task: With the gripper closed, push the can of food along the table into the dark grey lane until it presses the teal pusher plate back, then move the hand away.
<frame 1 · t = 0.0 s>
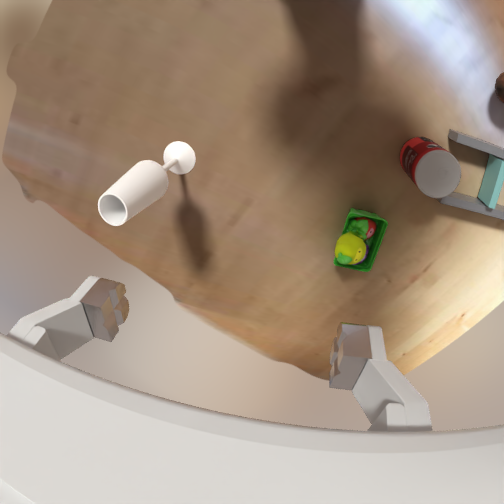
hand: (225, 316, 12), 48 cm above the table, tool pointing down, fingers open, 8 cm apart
pusher: (492, 180, 46), point 3 cm above the table, slide at 0.0 cm
fruit basket: (354, 229, 61), on the table
champagne flute: (179, 157, 59), on the table
canned food: (418, 156, 51), on the table
lane: (487, 176, 49), on the table
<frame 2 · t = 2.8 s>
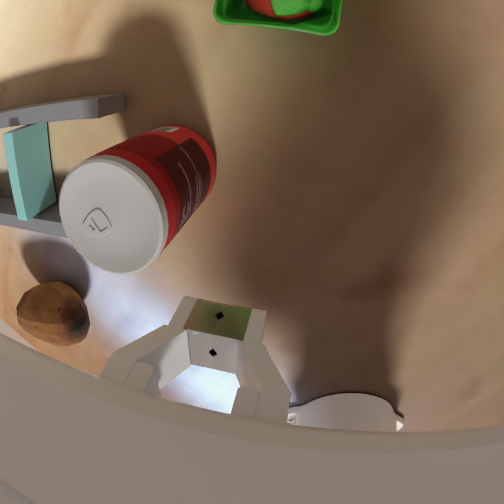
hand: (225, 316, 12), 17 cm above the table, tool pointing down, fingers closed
pusher: (30, 169, 26), point 3 cm above the table, slide at 0.0 cm
canned food: (176, 165, 27), on the table
lane: (46, 160, 29), on the table
potato: (72, 295, 39), on the table
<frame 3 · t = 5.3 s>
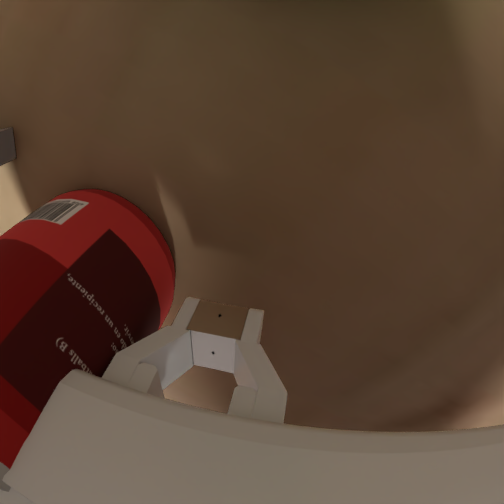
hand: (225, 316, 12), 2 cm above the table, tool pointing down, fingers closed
canned food: (107, 257, 14), on the table, touching gripper
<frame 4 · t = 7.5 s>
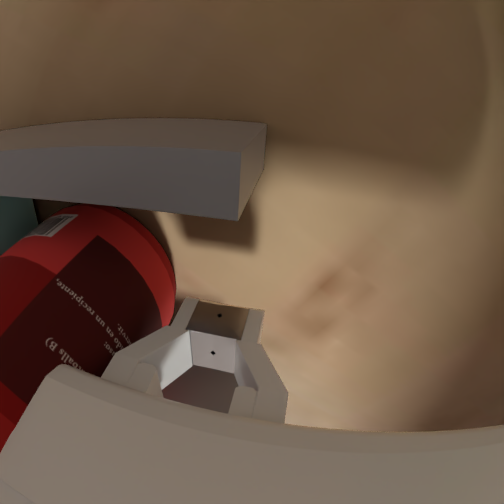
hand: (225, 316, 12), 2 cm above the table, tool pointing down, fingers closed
pusher: (7, 276, 12), point 3 cm above the table, slide at 1.0 cm
canned food: (110, 268, 15), resting in lane, touching gripper
lane: (49, 249, 15), on the table
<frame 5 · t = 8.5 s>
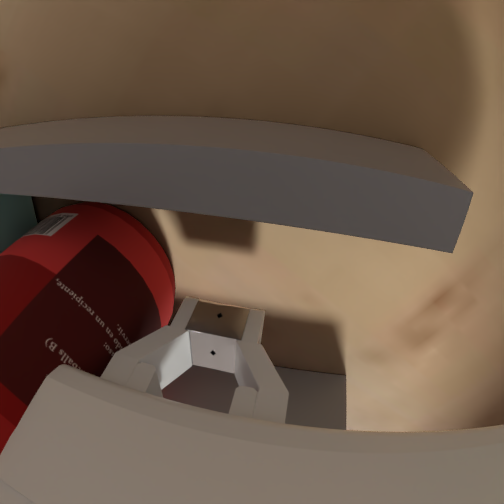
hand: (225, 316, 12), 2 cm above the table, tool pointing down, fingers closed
pusher: (6, 274, 12), point 3 cm above the table, slide at 6.2 cm, touching canned food
canned food: (109, 268, 15), resting in lane, touching gripper, pusher
lane: (127, 263, 14), on the table
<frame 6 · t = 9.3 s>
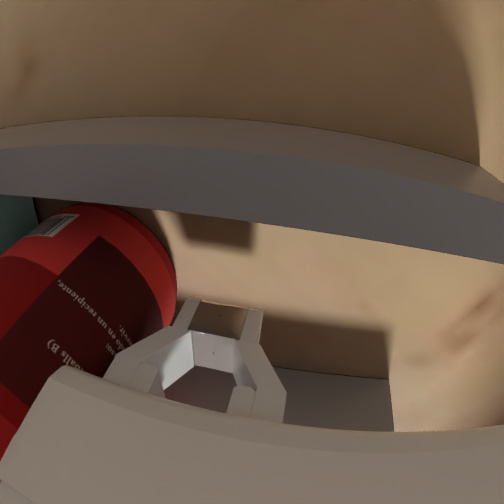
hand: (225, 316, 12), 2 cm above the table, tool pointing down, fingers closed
pusher: (6, 275, 12), point 3 cm above the table, slide at 8.6 cm, touching canned food
canned food: (110, 268, 15), resting in lane, touching gripper, pusher
lane: (176, 273, 14), on the table
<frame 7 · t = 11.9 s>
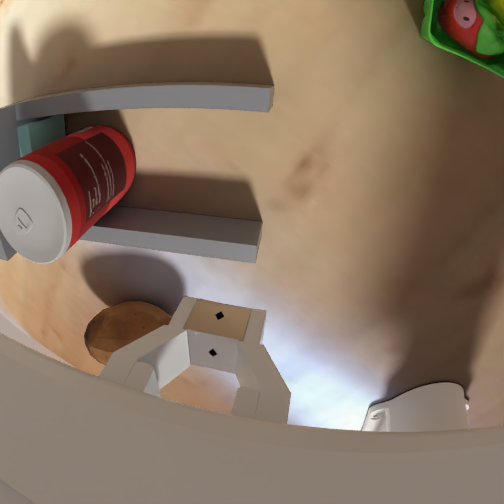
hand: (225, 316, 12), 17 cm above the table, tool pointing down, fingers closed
pusher: (46, 167, 24), point 3 cm above the table, slide at 9.0 cm
fruit basket: (458, 5, 15), on the table
canned food: (103, 162, 27), resting in lane
lane: (140, 157, 26), on the table
potato: (151, 315, 37), on the table
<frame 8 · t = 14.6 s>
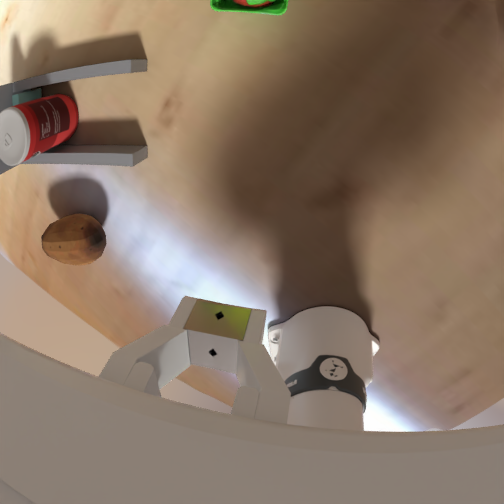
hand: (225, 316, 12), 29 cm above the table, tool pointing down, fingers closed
pusher: (28, 120, 36), point 3 cm above the table, slide at 9.0 cm
canned food: (62, 117, 39), resting in lane
lane: (80, 112, 38), on the table
potato: (90, 227, 48), on the table
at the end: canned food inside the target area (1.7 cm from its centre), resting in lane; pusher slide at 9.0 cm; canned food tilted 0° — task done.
